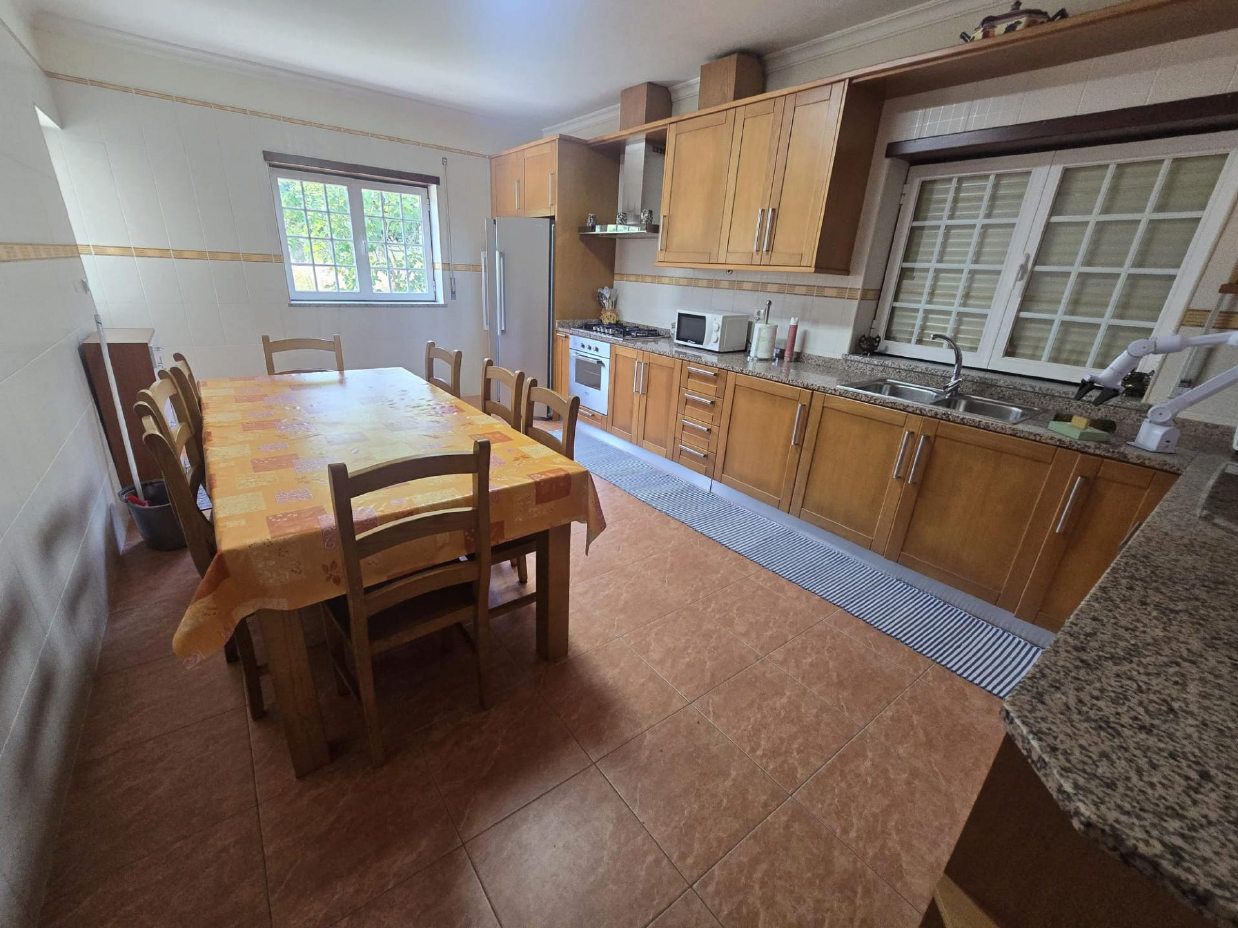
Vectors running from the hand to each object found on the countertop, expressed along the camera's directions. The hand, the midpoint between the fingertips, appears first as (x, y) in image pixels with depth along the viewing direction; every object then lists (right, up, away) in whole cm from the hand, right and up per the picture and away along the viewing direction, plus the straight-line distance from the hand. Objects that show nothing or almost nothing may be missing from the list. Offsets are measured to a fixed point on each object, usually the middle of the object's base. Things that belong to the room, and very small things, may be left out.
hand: (1085, 402), depth 185 cm
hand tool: (+12, -8, +15) cm, 21 cm away
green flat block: (-3, -12, +1) cm, 12 cm away
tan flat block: (-3, -9, -1) cm, 10 cm away
